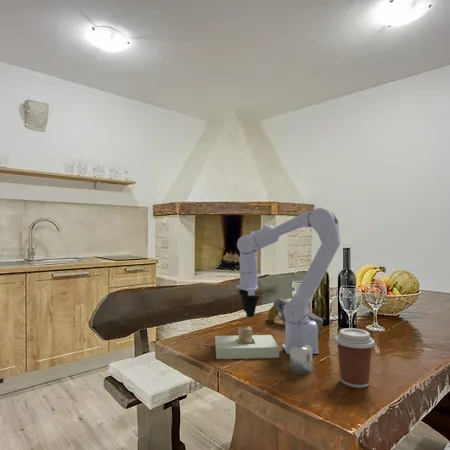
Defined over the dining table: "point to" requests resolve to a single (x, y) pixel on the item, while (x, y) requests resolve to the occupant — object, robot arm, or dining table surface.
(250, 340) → the square peg
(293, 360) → the round peg
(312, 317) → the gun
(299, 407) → the dining table surface
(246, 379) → the dining table surface
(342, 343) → the coffee cup
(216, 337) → the socket plate
